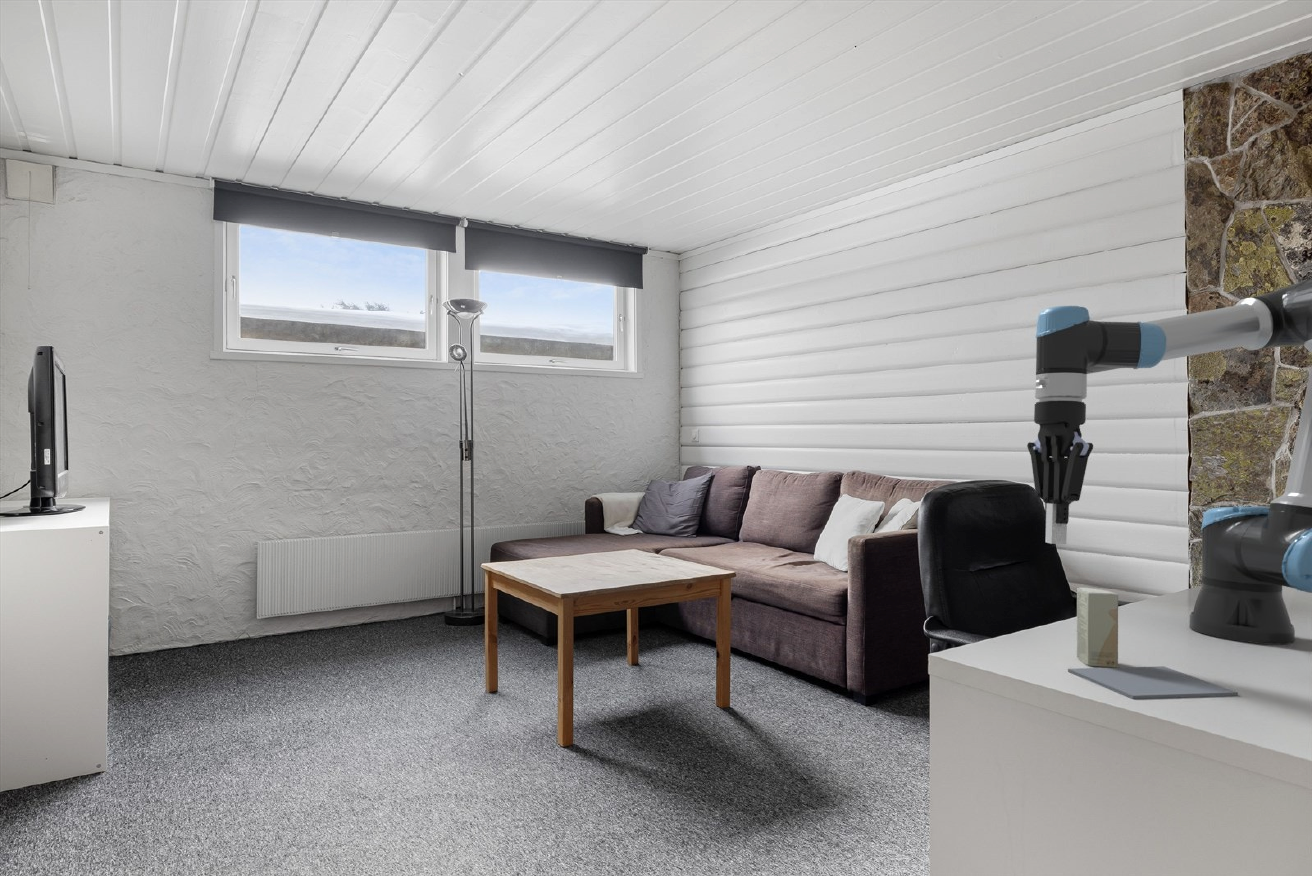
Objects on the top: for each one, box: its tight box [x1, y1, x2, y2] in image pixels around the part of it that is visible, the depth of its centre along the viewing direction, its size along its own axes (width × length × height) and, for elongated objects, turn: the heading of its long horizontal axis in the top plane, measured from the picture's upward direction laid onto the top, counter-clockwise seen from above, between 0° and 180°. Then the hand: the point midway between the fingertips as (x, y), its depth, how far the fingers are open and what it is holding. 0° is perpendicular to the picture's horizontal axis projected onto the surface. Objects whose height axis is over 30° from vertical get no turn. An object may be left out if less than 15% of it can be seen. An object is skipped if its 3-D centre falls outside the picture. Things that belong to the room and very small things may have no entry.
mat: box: [1067, 665, 1239, 700], centre depth 105 cm, size 16×12×1 cm
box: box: [1076, 587, 1119, 668], centre depth 115 cm, size 5×4×11 cm
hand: (1055, 543), depth 124 cm, fingers closed
